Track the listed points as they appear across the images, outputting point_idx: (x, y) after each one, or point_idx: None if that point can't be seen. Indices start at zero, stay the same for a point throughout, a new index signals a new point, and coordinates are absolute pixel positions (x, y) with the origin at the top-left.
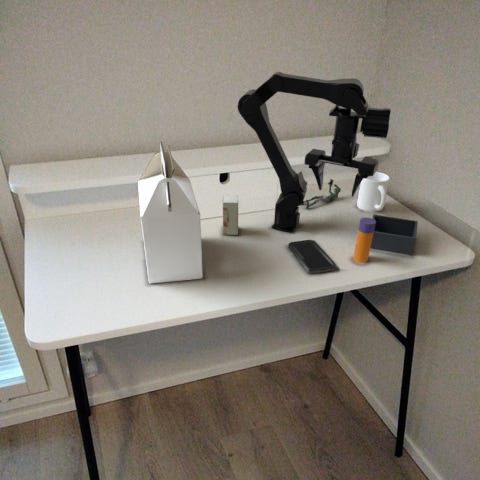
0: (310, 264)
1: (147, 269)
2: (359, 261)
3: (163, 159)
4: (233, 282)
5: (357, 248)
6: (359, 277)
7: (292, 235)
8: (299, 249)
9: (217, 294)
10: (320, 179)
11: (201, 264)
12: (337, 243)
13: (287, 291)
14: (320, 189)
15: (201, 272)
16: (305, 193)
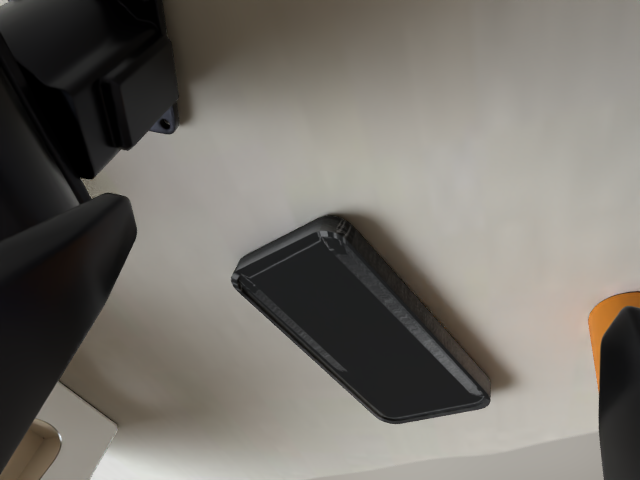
0: (380, 396)
1: (19, 475)
2: None
3: None
4: (194, 434)
5: None
6: None
7: (199, 149)
8: (299, 314)
9: (192, 464)
10: (32, 395)
11: (94, 470)
12: (494, 175)
13: (347, 462)
14: (129, 249)
15: (108, 446)
16: (22, 201)
